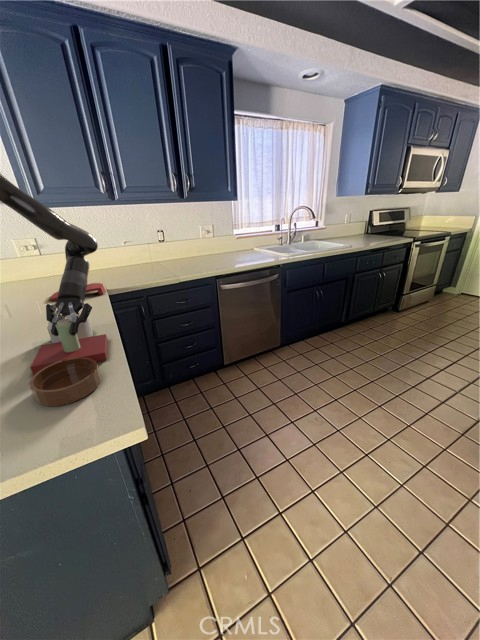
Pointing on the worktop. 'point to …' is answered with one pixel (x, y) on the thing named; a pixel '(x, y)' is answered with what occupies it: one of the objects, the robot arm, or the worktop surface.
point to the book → (54, 352)
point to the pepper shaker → (67, 336)
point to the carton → (89, 288)
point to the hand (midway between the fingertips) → (63, 334)
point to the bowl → (65, 381)
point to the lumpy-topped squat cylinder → (83, 332)
